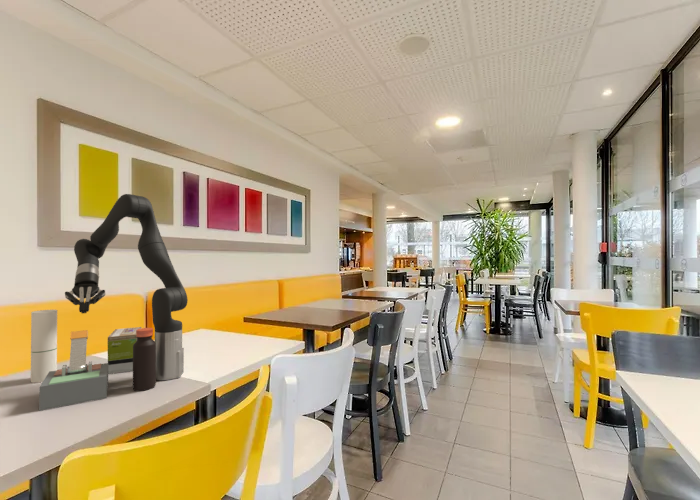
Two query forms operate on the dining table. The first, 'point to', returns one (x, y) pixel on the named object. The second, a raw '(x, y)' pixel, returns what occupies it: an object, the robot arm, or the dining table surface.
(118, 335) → the tea box
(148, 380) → the bottle
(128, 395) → the dining table surface
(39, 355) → the cylindrical container
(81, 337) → the lever
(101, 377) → the switch box
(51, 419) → the dining table surface
